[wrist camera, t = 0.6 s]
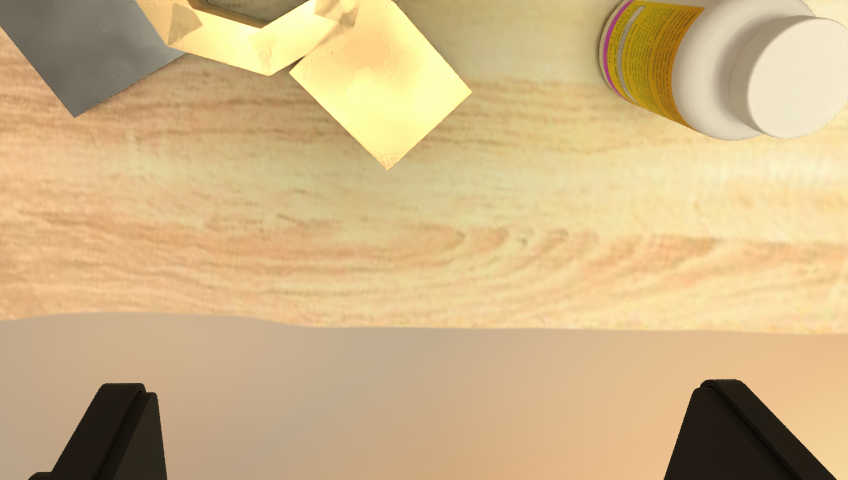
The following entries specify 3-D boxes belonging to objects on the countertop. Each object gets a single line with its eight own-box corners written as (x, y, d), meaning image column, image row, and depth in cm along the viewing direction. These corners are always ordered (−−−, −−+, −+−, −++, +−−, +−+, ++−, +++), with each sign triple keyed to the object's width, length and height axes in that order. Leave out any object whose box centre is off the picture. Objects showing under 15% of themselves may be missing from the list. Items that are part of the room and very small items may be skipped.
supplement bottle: (610, 119, 37) (735, 188, 25) (582, 12, 34) (708, 33, 22) (713, 75, 36) (888, 124, 25) (693, -37, 34) (881, -41, 22)
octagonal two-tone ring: (296, -256, 27) (289, -291, 24) (469, 103, 35) (484, 118, 31) (-36, -49, 29) (-90, -52, 25) (199, 250, 37) (184, 281, 33)
